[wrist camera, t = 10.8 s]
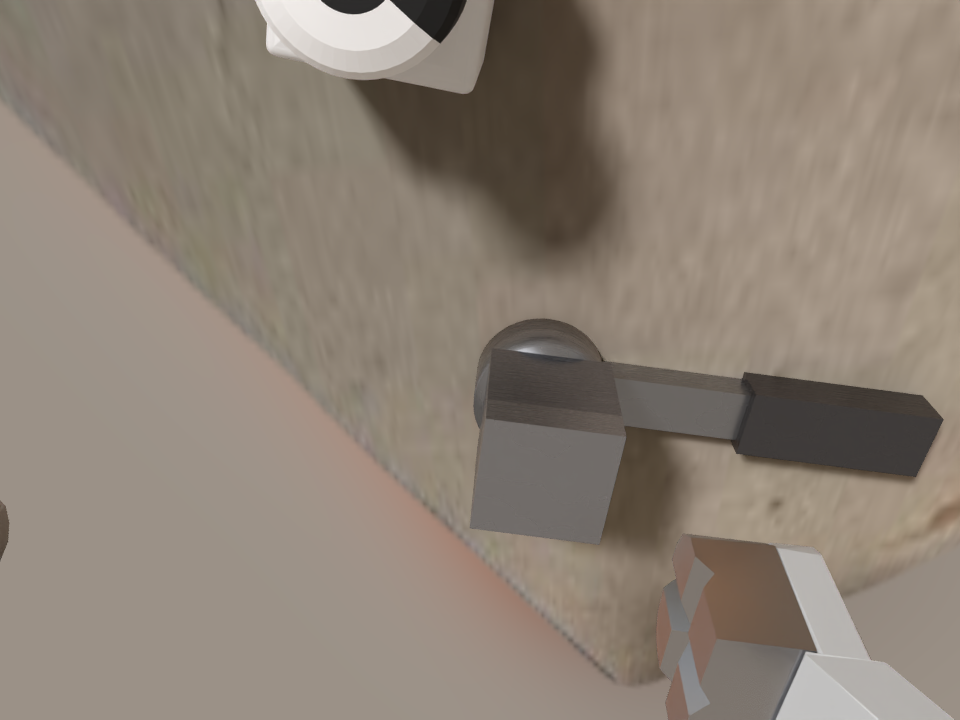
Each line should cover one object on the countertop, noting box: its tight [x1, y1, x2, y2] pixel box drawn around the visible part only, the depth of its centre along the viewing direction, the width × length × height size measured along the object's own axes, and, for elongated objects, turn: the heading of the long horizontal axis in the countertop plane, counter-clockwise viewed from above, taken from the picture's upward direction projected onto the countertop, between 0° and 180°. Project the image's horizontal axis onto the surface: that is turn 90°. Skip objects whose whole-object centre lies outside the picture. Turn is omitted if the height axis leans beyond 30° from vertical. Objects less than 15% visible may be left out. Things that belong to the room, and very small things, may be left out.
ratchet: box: [474, 319, 944, 477], centre depth 36 cm, size 22×6×7 cm, turn 83°
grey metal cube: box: [470, 348, 626, 545], centre depth 34 cm, size 6×6×6 cm
